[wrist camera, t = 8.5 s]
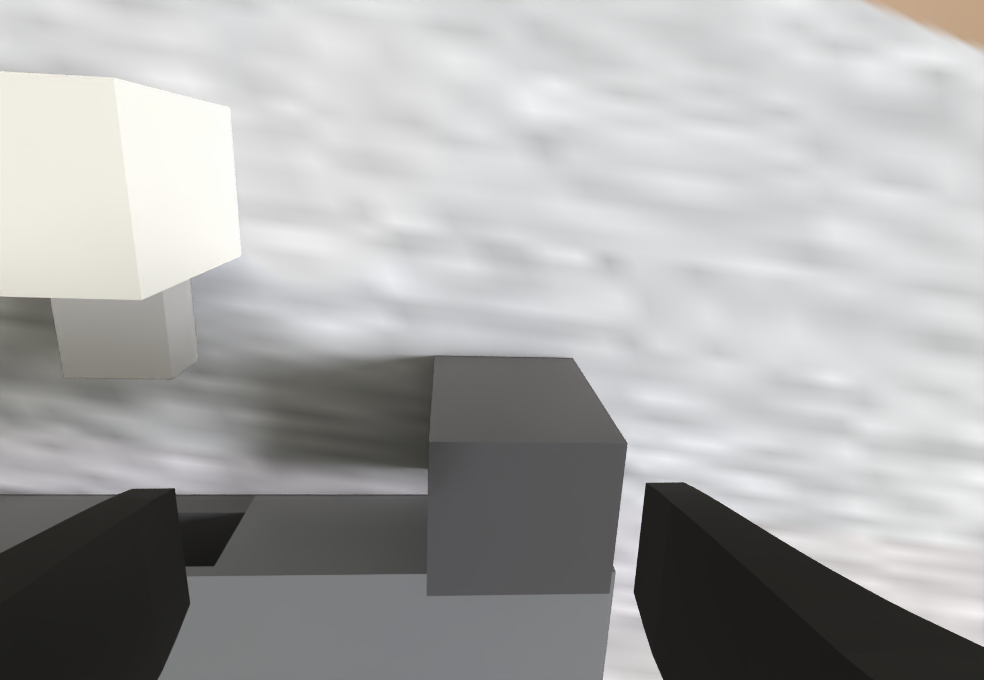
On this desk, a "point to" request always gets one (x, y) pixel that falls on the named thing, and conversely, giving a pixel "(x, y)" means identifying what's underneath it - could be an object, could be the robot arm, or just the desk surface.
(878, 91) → the desk surface
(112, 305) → the block
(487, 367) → the grey slotted block
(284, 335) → the desk surface
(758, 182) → the desk surface
